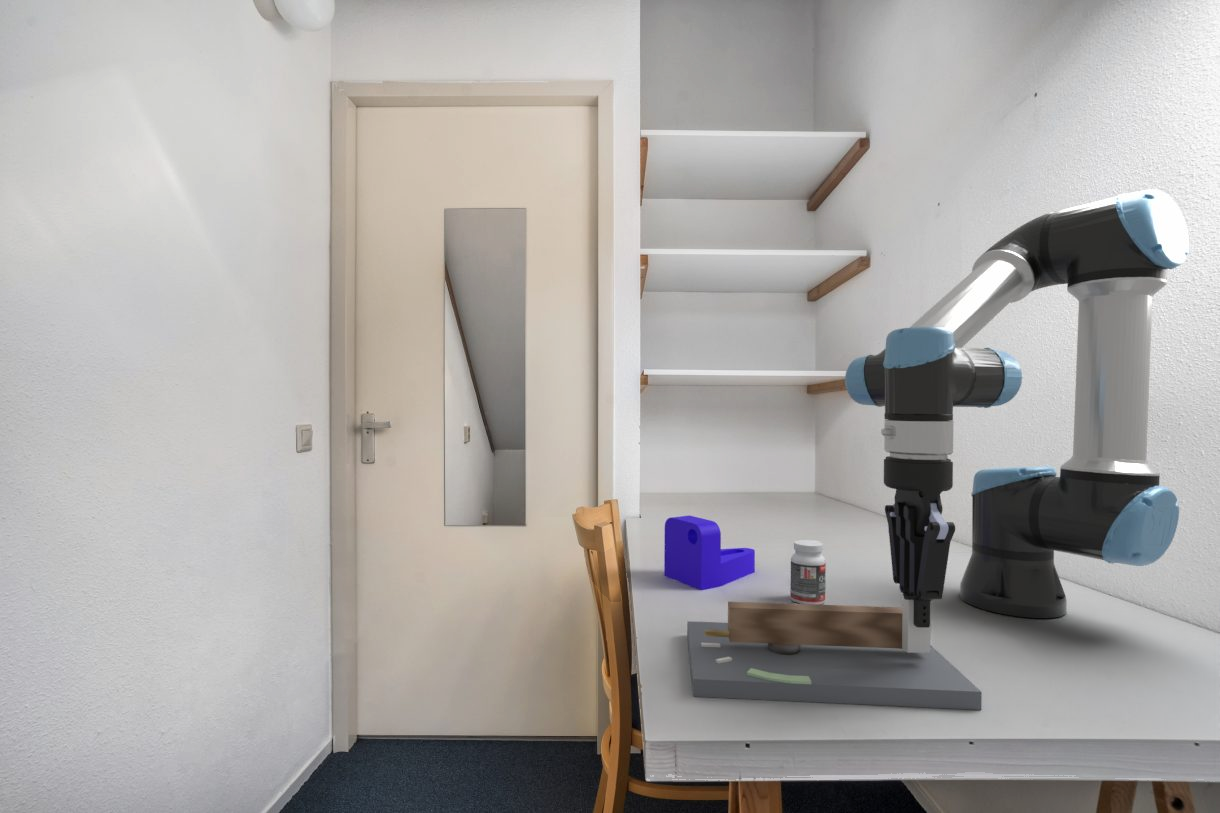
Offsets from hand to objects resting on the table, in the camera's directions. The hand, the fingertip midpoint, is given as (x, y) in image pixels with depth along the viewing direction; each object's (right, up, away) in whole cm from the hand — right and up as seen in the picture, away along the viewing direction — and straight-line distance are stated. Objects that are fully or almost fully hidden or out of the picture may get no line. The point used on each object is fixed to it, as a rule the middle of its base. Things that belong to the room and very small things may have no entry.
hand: (916, 649), depth 76 cm
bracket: (-16, -4, +46) cm, 49 cm away
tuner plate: (-11, -4, +4) cm, 12 cm away
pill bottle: (-3, -4, +31) cm, 31 cm away
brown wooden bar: (-11, -2, +4) cm, 12 cm away
